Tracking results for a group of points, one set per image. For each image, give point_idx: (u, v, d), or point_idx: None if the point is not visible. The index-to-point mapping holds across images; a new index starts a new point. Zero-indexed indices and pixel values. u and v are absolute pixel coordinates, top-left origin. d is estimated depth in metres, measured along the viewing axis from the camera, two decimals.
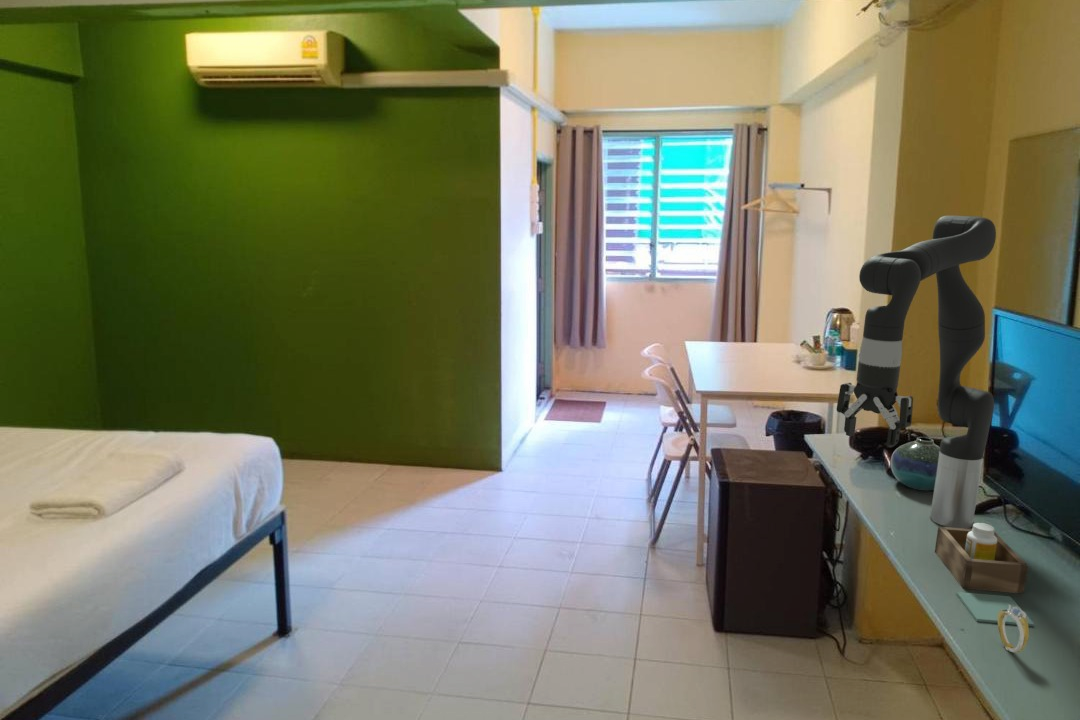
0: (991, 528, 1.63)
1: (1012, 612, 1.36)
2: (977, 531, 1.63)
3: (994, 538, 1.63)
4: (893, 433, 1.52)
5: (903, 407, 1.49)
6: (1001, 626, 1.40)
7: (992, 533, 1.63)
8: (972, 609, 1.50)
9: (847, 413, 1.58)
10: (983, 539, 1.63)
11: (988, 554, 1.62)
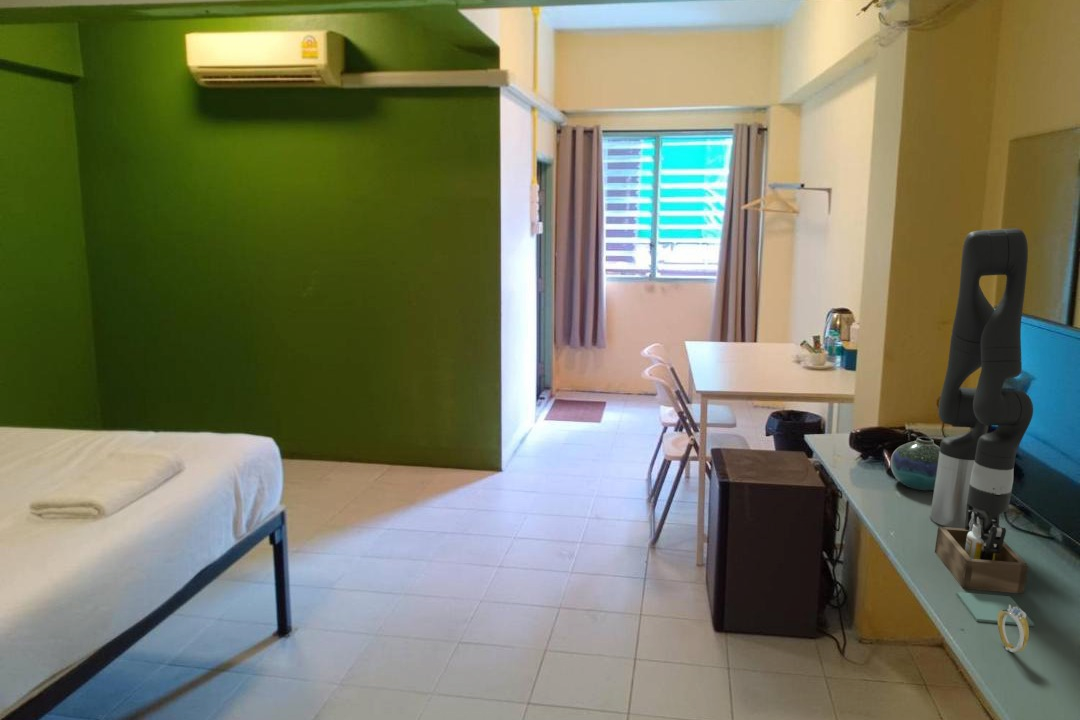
0: None
1: (1012, 612, 1.36)
2: (977, 530, 1.63)
3: None
4: None
5: None
6: (1001, 626, 1.40)
7: None
8: (972, 609, 1.50)
9: None
10: None
11: None
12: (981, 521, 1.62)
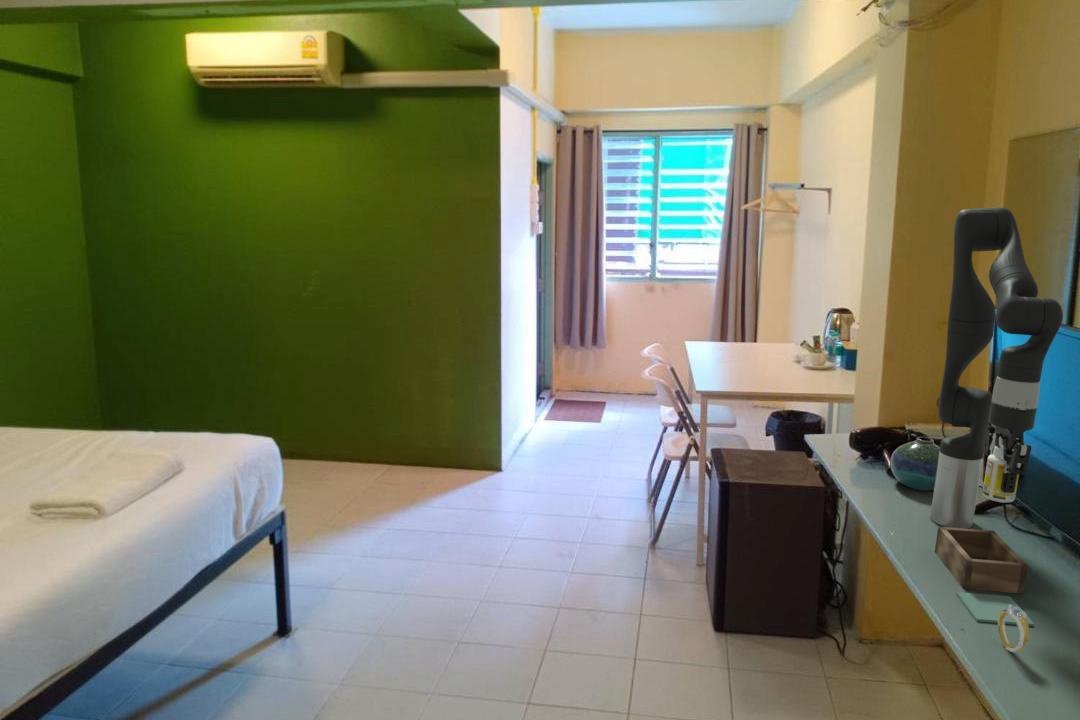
0: None
1: (1012, 612, 1.36)
2: (999, 452, 1.51)
3: None
4: None
5: None
6: (1002, 626, 1.40)
7: None
8: (972, 609, 1.50)
9: None
10: None
11: None
12: (1004, 440, 1.50)
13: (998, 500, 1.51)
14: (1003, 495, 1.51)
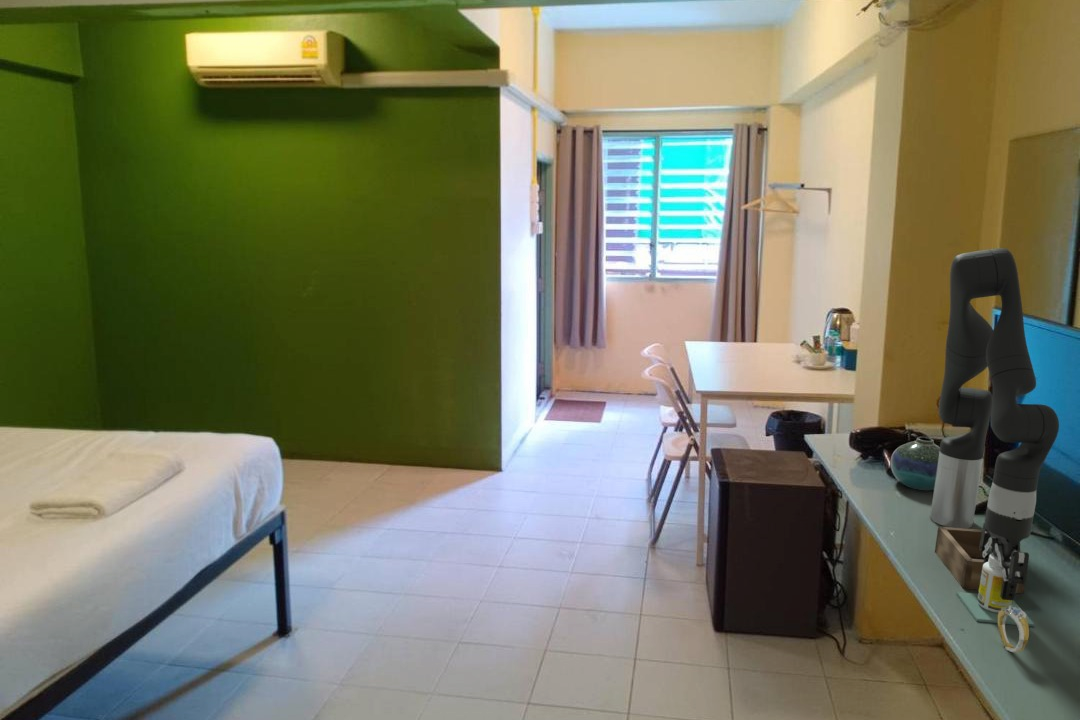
0: None
1: (1012, 612, 1.36)
2: (994, 562, 1.48)
3: None
4: None
5: None
6: (1002, 626, 1.40)
7: None
8: (972, 609, 1.50)
9: None
10: (1001, 571, 1.48)
11: None
12: (1000, 547, 1.47)
13: (993, 611, 1.49)
14: (999, 606, 1.48)
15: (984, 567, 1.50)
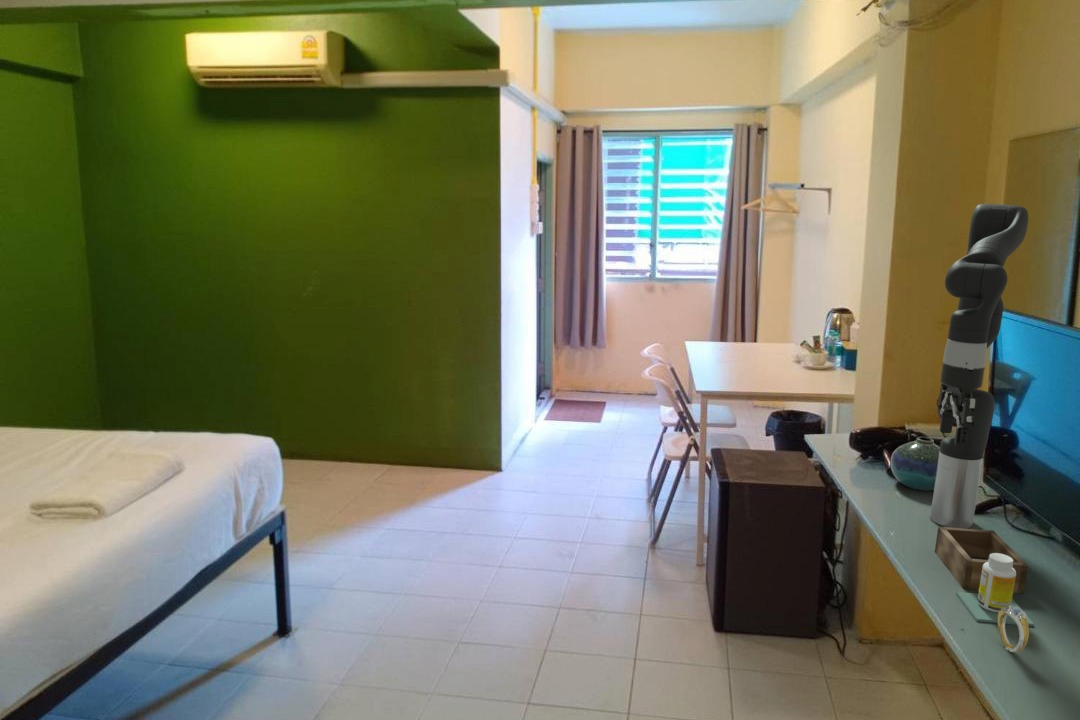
0: (1010, 560, 1.48)
1: (1012, 612, 1.36)
2: (994, 562, 1.48)
3: (1013, 571, 1.48)
4: None
5: None
6: (1002, 626, 1.40)
7: (1010, 565, 1.48)
8: (972, 609, 1.50)
9: None
10: (1001, 571, 1.48)
11: (1006, 588, 1.48)
12: (955, 398, 1.59)
13: (993, 611, 1.49)
14: (999, 606, 1.48)
15: (984, 567, 1.50)
